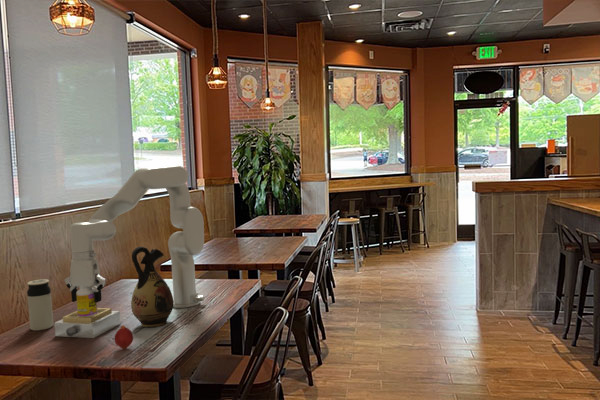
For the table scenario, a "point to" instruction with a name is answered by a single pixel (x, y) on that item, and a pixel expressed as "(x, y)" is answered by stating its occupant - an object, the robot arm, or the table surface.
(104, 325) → the white gold-rimmed box
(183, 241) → the robot arm
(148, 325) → the ceramic jug
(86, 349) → the table surface
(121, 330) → the onion
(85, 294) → the supplement bottle
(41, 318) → the travel mug
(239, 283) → the table surface
